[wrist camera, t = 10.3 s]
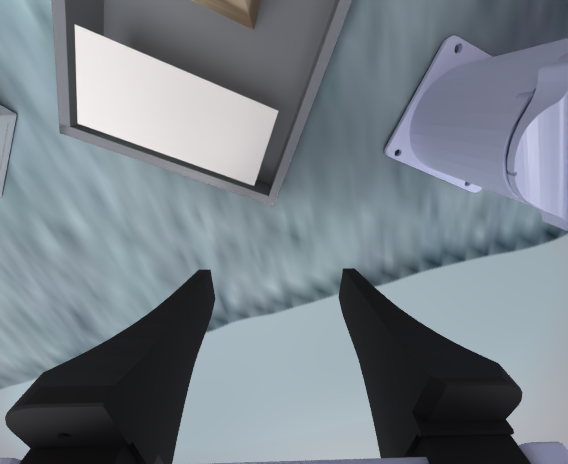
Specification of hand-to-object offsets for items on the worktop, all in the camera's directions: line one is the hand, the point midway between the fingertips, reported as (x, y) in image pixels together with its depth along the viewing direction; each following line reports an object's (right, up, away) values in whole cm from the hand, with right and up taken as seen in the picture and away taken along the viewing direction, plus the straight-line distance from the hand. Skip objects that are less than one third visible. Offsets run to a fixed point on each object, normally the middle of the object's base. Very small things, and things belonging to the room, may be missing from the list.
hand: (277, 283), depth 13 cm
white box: (-6, +11, +4) cm, 13 cm away
